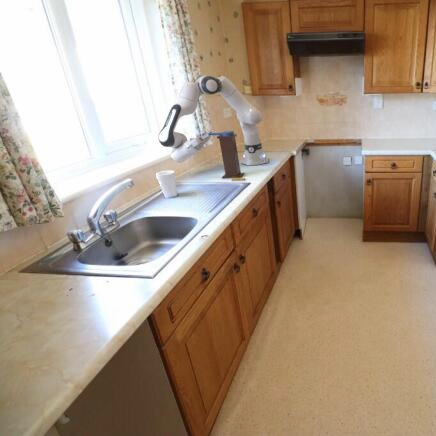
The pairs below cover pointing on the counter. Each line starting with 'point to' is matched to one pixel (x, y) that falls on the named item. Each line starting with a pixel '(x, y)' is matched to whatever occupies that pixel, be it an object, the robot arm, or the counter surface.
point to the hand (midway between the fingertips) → (210, 133)
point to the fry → (237, 179)
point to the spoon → (226, 133)
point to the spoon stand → (230, 156)
